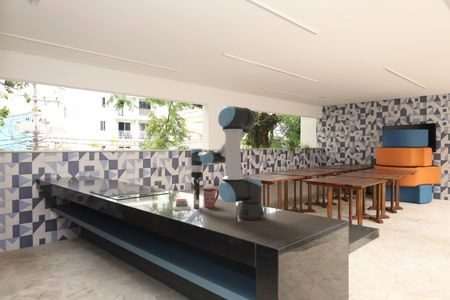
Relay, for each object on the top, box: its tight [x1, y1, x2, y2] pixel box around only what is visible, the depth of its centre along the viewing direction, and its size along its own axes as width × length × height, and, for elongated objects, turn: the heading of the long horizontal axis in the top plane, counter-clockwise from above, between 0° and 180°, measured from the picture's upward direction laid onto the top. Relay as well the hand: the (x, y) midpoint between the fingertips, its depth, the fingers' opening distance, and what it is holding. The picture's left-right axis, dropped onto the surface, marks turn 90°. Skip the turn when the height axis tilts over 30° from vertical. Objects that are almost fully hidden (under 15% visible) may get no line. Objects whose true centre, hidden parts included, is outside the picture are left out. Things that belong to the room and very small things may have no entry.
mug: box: [202, 186, 220, 209], centre depth 210 cm, size 13×9×14 cm
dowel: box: [193, 190, 200, 210], centre depth 204 cm, size 4×4×12 cm
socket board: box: [172, 198, 191, 211], centre depth 208 cm, size 11×22×4 cm, turn 10°
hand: (196, 202), depth 204 cm, fingers open, 13 cm apart
